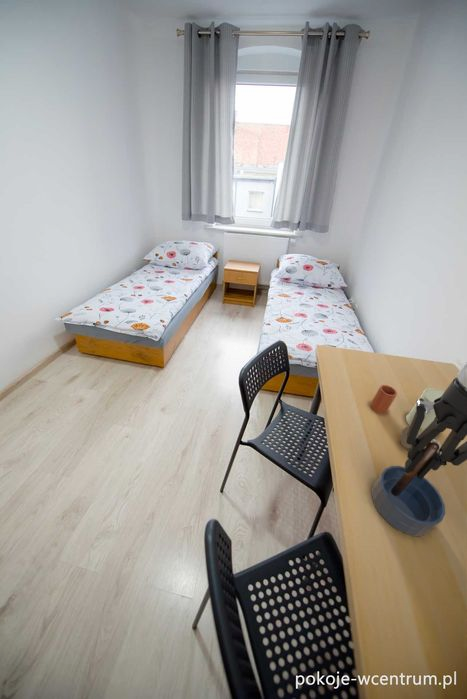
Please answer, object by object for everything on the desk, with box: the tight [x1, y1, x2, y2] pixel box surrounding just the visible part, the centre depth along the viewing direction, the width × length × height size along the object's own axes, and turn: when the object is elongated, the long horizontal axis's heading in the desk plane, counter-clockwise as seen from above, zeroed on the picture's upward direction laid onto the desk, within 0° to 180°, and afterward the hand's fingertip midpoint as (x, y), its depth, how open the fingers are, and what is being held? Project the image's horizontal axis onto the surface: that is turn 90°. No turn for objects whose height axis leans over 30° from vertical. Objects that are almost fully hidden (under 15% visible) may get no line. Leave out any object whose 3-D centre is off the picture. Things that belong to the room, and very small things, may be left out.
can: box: [405, 387, 445, 430], centre depth 84 cm, size 9×9×12 cm
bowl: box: [371, 465, 446, 537], centre depth 63 cm, size 13×13×6 cm
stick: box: [391, 441, 439, 496], centre depth 59 cm, size 2×2×19 cm
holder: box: [370, 384, 398, 415], centre depth 89 cm, size 5×5×8 cm
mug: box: [400, 425, 442, 453], centre depth 78 cm, size 8×10×10 cm
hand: (413, 470), depth 59 cm, fingers closed on stick, 2 cm apart
